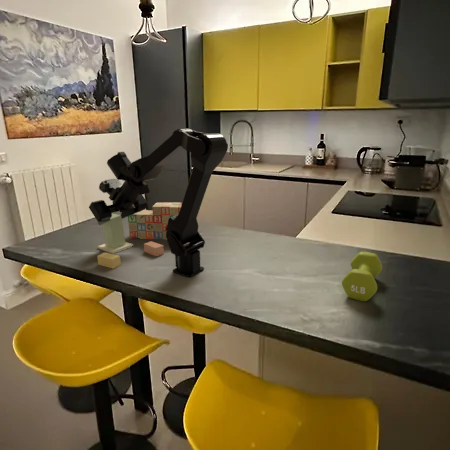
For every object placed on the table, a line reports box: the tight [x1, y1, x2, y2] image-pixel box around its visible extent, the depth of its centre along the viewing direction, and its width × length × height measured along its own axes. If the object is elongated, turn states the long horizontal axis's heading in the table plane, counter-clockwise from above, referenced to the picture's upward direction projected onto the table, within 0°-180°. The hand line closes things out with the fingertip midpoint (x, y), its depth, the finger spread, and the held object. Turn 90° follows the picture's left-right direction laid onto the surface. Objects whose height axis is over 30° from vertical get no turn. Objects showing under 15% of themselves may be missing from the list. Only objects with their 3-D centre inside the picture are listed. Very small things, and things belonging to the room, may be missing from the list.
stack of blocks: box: [127, 201, 182, 240], centre depth 121 cm, size 21×6×12 cm, turn 86°
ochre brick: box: [96, 251, 122, 270], centre depth 99 cm, size 6×3×3 cm, turn 62°
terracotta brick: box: [143, 240, 165, 257], centre depth 108 cm, size 6×3×3 cm, turn 50°
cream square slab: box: [97, 241, 134, 255], centre depth 113 cm, size 8×8×2 cm
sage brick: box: [101, 213, 126, 248], centre depth 111 cm, size 4×4×10 cm
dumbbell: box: [341, 251, 383, 302], centre depth 85 cm, size 16×8×7 cm, turn 151°
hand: (110, 220), depth 111 cm, fingers open, 8 cm apart
